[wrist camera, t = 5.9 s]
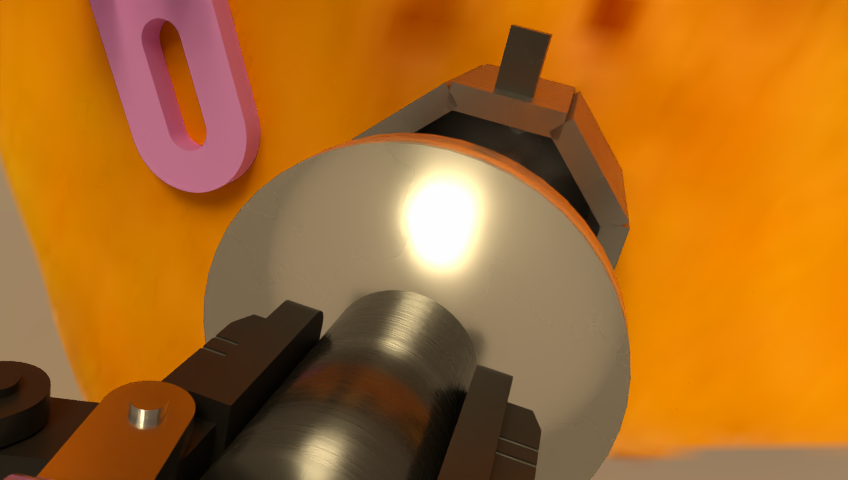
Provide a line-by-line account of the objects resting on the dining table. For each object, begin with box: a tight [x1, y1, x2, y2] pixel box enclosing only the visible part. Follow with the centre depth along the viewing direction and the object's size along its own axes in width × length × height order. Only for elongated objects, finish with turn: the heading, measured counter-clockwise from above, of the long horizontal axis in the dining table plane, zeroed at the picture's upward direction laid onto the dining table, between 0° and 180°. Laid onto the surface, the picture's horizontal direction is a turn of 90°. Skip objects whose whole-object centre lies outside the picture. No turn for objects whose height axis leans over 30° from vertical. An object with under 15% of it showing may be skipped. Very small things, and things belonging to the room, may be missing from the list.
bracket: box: [89, 0, 260, 193], centre depth 26 cm, size 13×6×7 cm, turn 11°
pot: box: [352, 25, 630, 270], centre depth 25 cm, size 13×9×7 cm
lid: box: [200, 133, 630, 480], centre depth 12 cm, size 9×9×7 cm
